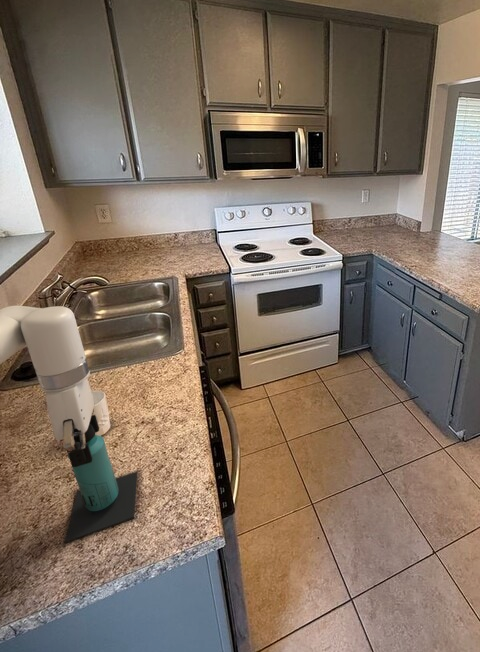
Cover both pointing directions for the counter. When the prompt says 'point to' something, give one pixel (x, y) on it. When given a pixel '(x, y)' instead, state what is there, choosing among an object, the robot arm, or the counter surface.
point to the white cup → (101, 412)
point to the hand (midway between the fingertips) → (86, 447)
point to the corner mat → (103, 511)
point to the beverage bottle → (96, 474)
